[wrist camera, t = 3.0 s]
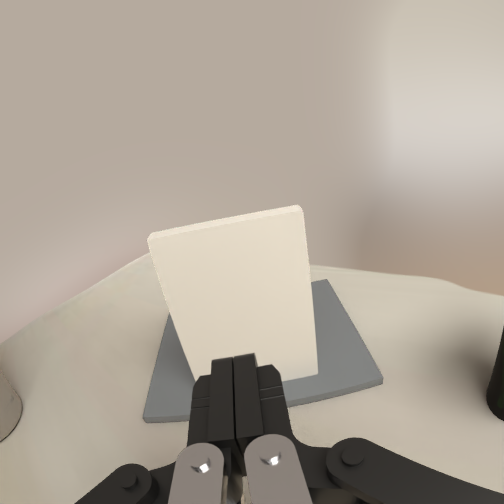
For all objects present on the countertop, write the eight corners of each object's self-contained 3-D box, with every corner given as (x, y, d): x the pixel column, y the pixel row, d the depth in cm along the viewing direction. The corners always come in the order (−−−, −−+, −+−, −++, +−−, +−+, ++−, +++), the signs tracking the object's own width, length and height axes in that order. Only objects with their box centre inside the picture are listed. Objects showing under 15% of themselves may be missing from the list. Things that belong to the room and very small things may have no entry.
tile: (200, 393, 25) (146, 239, 20) (201, 381, 26) (151, 232, 21) (318, 374, 25) (302, 210, 20) (314, 362, 26) (297, 204, 21)
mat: (146, 422, 23) (142, 417, 23) (172, 312, 40) (170, 307, 40) (382, 383, 23) (383, 377, 23) (327, 284, 40) (326, 278, 39)
